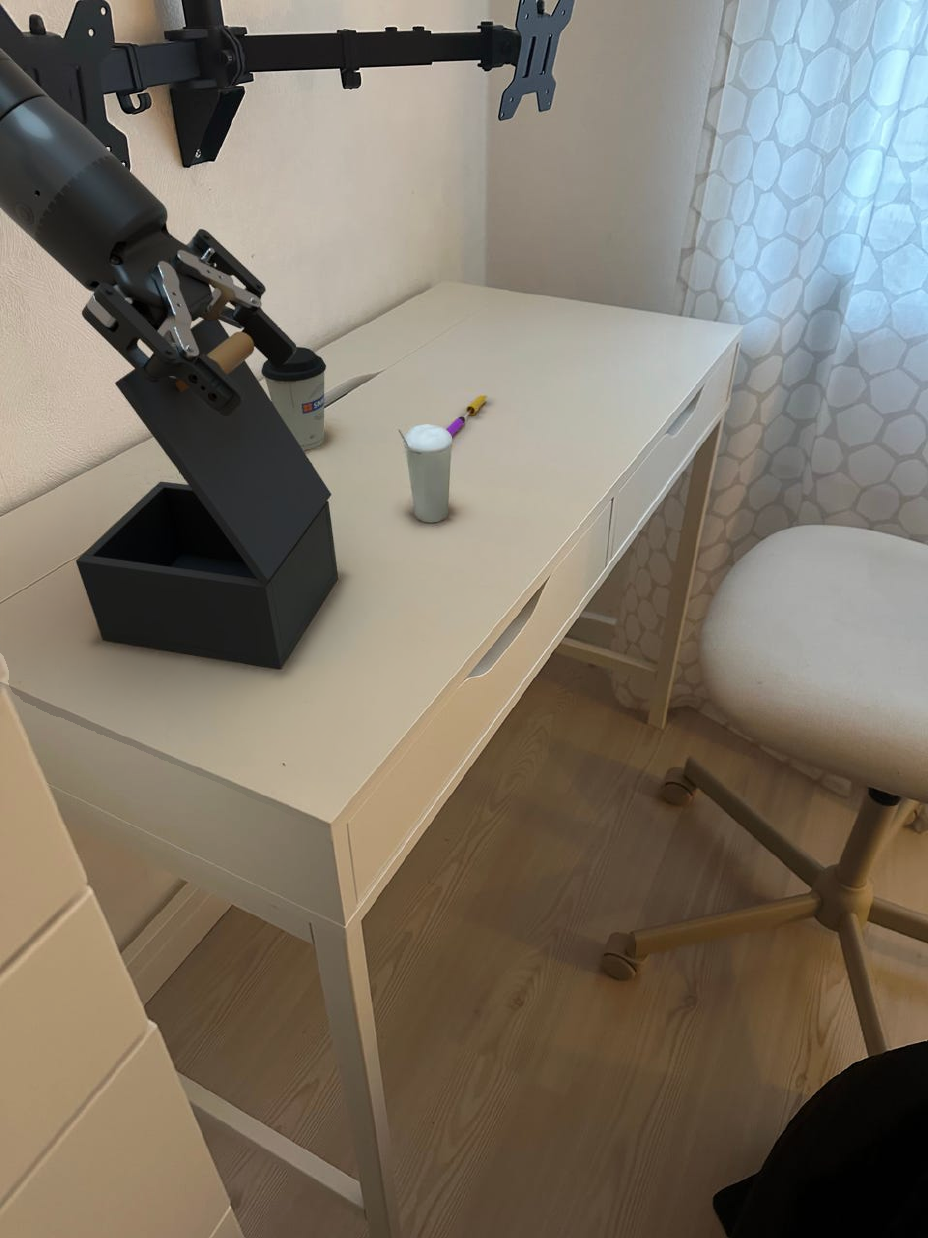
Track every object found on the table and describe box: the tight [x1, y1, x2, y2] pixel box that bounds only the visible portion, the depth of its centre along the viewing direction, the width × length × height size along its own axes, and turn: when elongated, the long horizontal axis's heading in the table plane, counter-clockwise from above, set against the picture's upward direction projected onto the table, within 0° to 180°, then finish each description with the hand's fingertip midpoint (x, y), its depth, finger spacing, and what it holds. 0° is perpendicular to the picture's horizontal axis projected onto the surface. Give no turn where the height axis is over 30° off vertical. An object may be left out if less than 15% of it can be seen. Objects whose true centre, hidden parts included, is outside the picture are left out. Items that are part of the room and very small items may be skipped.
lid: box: [114, 319, 332, 583], centre depth 65 cm, size 17×13×5 cm
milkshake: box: [397, 423, 453, 524], centre depth 85 cm, size 4×5×10 cm
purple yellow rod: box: [445, 395, 488, 437], centre depth 103 cm, size 3×1×16 cm
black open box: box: [75, 481, 339, 670], centre depth 74 cm, size 16×13×8 cm
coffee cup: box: [260, 346, 327, 451], centre depth 98 cm, size 7×7×10 cm
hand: (264, 381), depth 62 cm, fingers open, 8 cm apart
